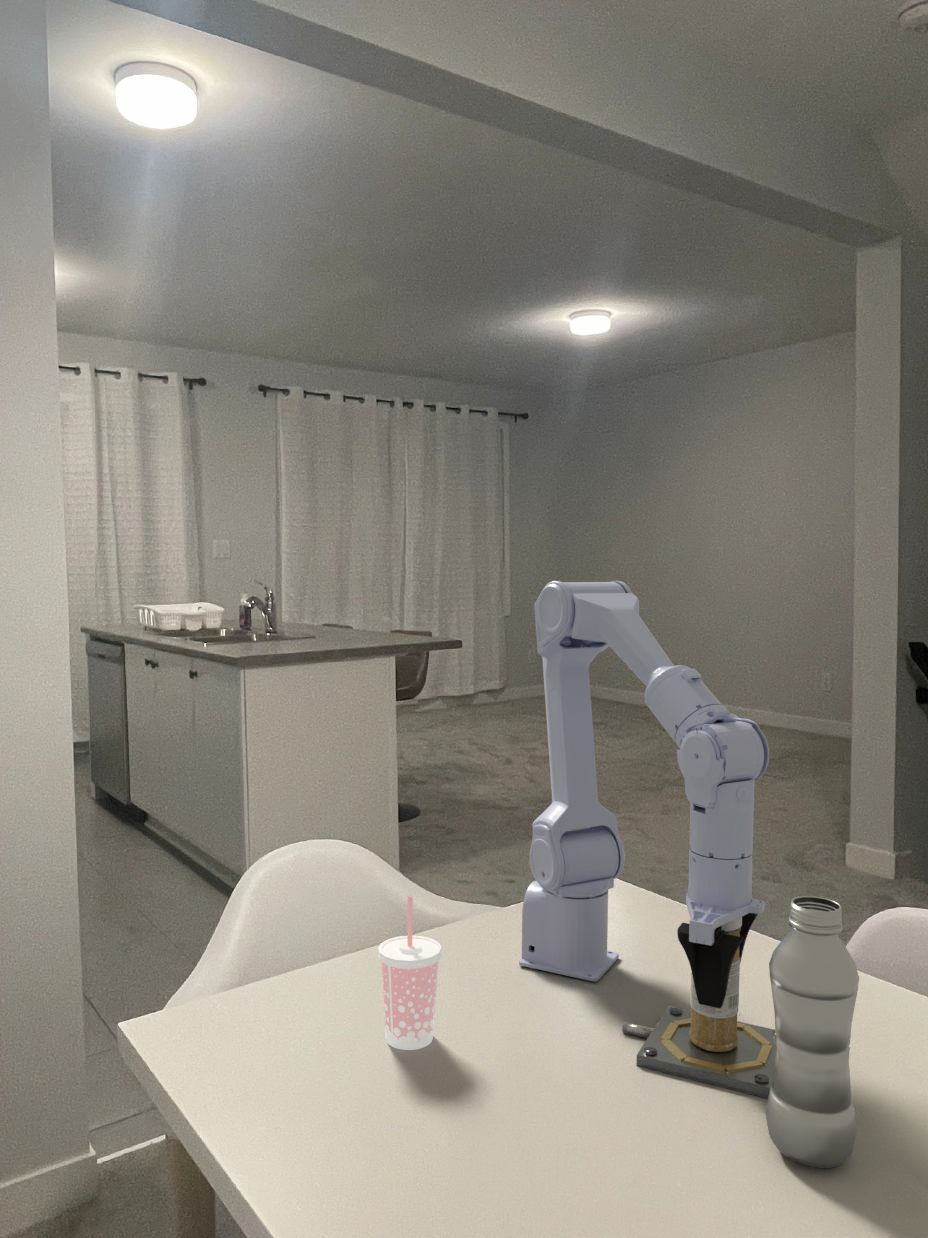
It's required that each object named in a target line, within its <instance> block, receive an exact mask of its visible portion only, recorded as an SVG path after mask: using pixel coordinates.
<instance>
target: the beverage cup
mask: <svg viewBox="0 0 928 1238" xmlns="http://www.w3.org/2000/svg"><path fill="white" fill-rule="evenodd" d="M413 899H414V897H413V896H412V895H408V896H407V935H401V936H399V935H398V936H395V937H392V938H388V939H386V940H384V941H383V942H381V943H380V944H379V946H378V947H377V951H378V959H379V961H380V963H381V964H380V965H381V966H380V967H381V977H382V979H381V983H382V984H381V985H382V999H383V1000H382V1001H383V1015H384V1016H383V1017H384V1034H385V1041H386V1044H388V1045H389V1046H390V1047H392V1048H395V1049H398V1050H405V1051H412V1050H413V1051H414V1050H420V1049H423V1048H425V1047H427V1046H428V1045H430V1044H431V1043H432V1041H433V1038H434V1033H435V1032H434V1031H435V1030H434V1029H435V1015H436V1004H437V1003H436V1001H437V988H438V985H437V984H438V971H439V961H440V960H441V957H442V949H443V948H442V945H441V944H440V942H439V941H437V940H435V939H434V938H431V937H427V936H422V935H413V915H414V913H413V912H414V911H413V905H414V904H413Z"/></svg>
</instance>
